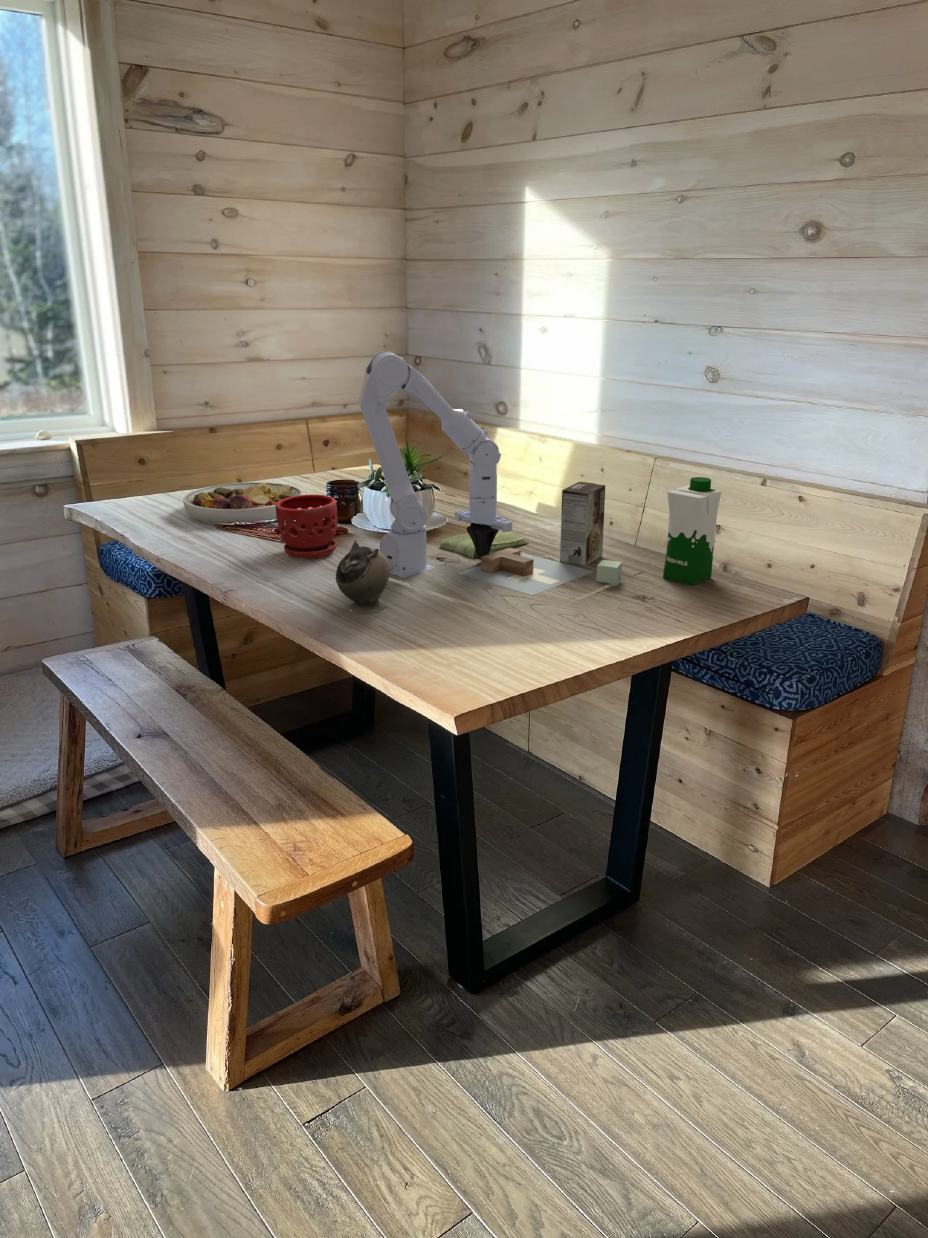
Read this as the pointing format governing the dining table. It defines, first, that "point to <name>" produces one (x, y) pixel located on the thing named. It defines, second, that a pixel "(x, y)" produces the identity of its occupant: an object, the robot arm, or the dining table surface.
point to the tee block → (507, 562)
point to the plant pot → (307, 525)
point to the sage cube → (609, 572)
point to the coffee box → (582, 523)
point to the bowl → (237, 502)
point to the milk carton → (691, 531)
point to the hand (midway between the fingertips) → (482, 558)
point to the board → (531, 576)
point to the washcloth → (467, 548)
